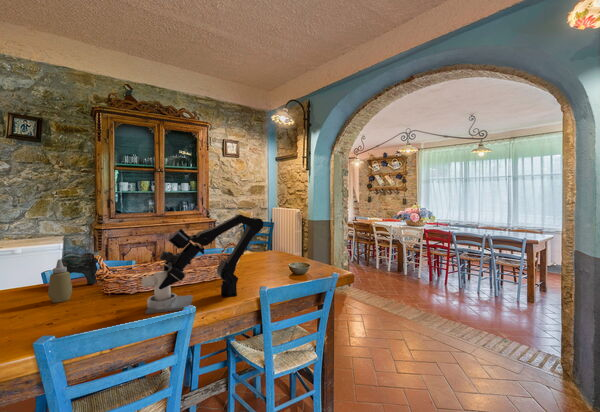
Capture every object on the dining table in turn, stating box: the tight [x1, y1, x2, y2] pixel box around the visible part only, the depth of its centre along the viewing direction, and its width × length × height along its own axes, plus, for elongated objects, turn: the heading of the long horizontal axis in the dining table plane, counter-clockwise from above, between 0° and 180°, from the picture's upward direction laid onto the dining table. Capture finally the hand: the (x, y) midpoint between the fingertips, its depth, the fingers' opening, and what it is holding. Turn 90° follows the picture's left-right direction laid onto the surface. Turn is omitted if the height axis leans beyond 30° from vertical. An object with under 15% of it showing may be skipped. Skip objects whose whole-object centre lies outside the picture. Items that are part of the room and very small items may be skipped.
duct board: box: [145, 292, 194, 315], centre depth 117 cm, size 16×14×4 cm
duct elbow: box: [141, 270, 172, 301], centre depth 114 cm, size 10×6×13 cm, turn 132°
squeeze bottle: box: [47, 258, 73, 303], centre depth 122 cm, size 8×8×18 cm
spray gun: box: [60, 245, 102, 285], centre depth 144 cm, size 20×6×20 cm, turn 93°
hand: (158, 285), depth 114 cm, fingers open, 9 cm apart
